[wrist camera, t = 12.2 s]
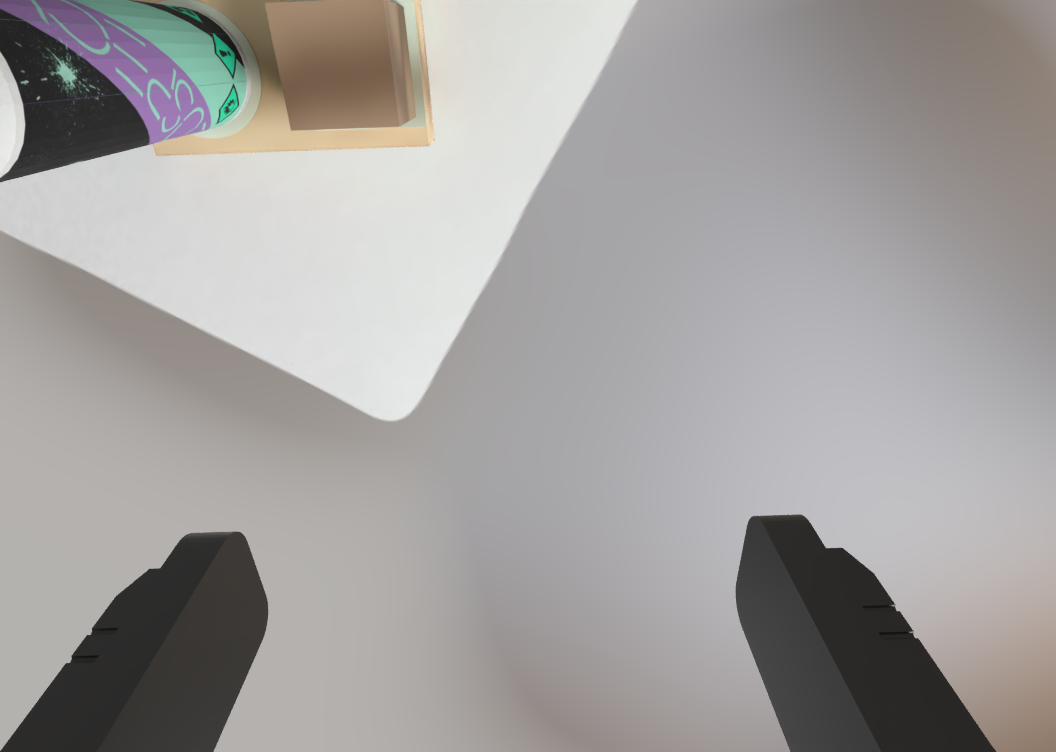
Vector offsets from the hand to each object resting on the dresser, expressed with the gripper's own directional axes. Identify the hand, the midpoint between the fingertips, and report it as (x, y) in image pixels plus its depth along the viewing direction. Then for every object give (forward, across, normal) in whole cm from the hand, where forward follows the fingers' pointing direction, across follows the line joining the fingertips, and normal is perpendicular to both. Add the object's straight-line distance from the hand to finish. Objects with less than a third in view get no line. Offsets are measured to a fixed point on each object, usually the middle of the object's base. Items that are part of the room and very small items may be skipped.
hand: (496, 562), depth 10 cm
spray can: (+28, +16, -7) cm, 33 cm away
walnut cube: (+28, +8, -7) cm, 29 cm away
